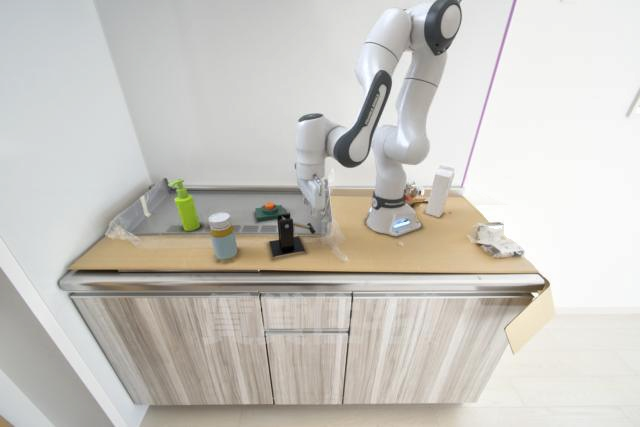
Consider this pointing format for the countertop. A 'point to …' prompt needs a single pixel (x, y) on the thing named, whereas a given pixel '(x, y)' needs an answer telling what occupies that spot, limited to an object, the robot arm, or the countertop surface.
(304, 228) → the lever
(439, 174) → the milk
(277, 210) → the button block
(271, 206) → the button
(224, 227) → the bottle
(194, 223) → the soap dispenser
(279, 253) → the bracket
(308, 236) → the countertop surface
